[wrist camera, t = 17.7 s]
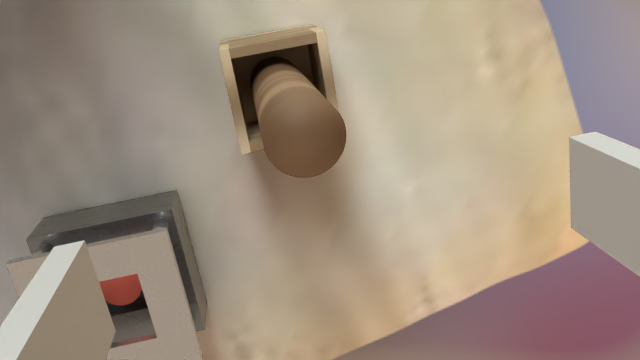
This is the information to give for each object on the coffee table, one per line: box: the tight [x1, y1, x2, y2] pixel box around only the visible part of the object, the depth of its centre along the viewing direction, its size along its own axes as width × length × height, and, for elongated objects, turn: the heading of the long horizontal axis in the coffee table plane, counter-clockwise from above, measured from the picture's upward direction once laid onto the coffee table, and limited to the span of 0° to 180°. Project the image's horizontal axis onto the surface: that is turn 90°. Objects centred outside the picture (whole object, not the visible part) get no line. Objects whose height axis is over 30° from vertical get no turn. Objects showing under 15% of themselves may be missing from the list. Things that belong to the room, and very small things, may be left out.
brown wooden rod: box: [250, 56, 346, 178], centre depth 33 cm, size 4×4×18 cm
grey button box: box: [6, 190, 207, 360], centre depth 42 cm, size 10×10×8 cm
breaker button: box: [99, 274, 142, 305], centre depth 42 cm, size 3×3×2 cm
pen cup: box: [219, 24, 338, 154], centre depth 39 cm, size 7×7×7 cm
